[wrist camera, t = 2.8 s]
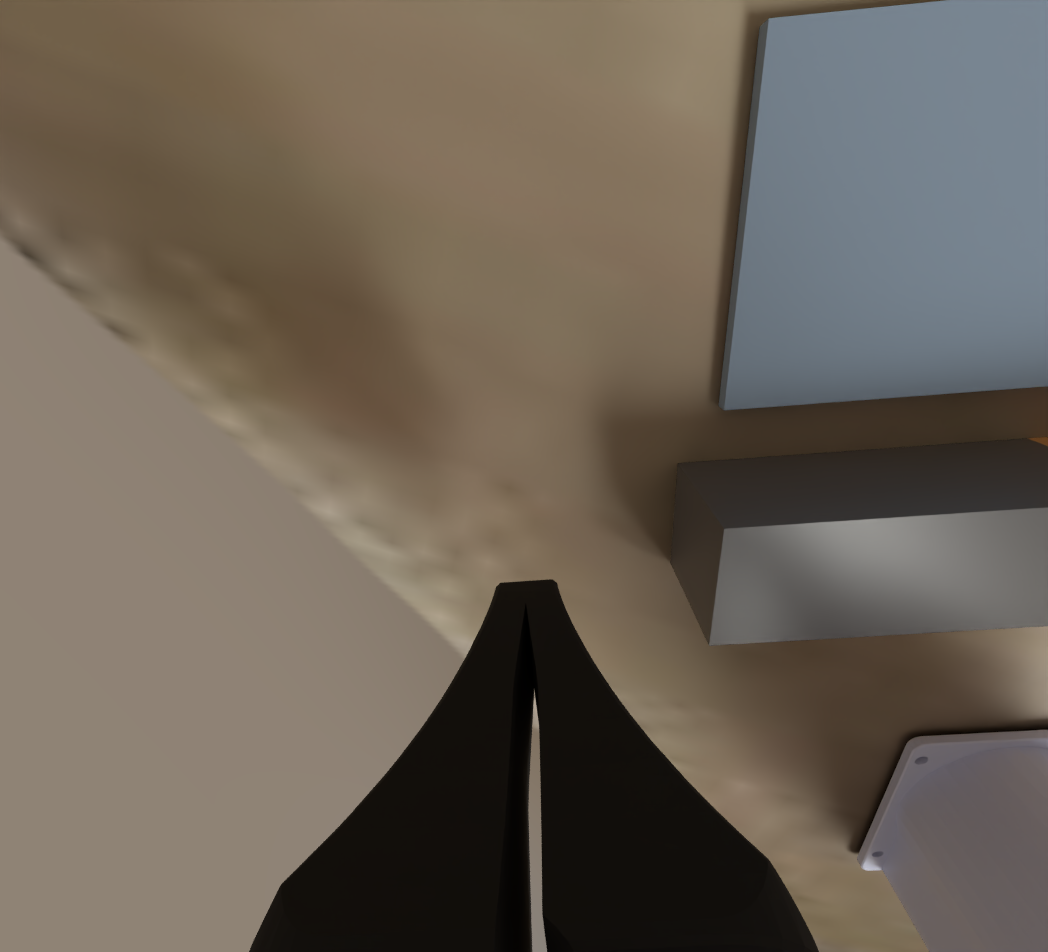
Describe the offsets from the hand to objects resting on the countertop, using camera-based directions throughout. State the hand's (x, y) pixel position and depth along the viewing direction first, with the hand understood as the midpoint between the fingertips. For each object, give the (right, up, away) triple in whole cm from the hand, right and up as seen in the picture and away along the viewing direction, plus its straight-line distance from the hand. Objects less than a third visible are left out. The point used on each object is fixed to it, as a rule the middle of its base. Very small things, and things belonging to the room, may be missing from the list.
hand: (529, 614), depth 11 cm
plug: (+12, +3, +3) cm, 13 cm away
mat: (+10, +9, 0) cm, 14 cm away
